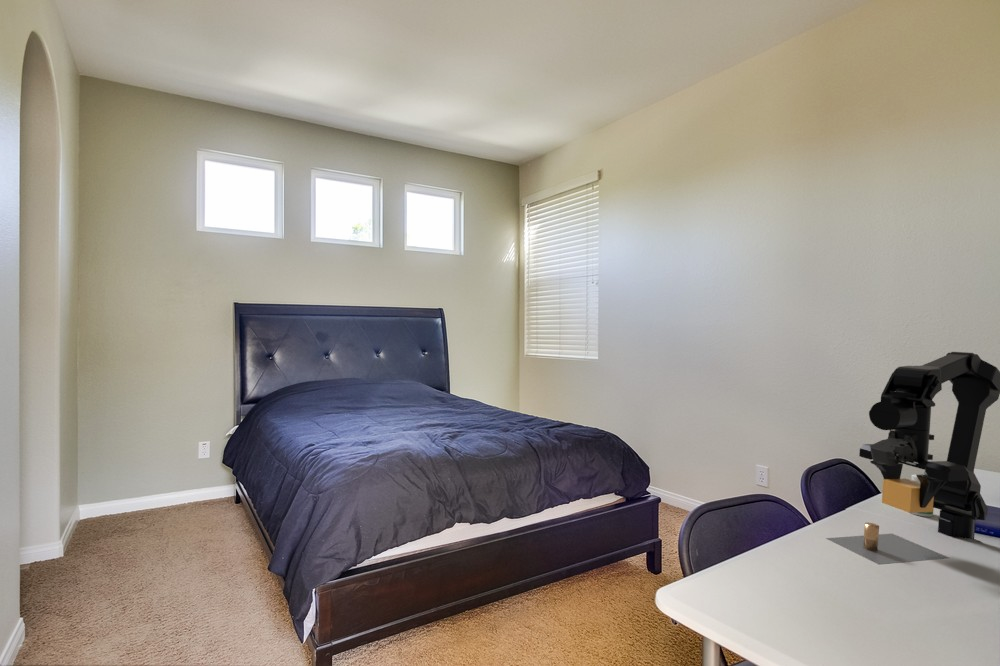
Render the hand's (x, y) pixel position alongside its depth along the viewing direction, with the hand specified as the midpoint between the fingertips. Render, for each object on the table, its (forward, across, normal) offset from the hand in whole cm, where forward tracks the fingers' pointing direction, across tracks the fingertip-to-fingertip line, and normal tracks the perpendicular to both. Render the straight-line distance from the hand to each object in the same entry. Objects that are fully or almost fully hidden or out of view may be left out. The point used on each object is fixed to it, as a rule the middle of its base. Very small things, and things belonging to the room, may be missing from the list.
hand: (907, 502), depth 110 cm
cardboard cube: (+1, 0, 0) cm, 1 cm away
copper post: (+9, 0, -9) cm, 13 cm away
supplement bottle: (+11, -19, +29) cm, 36 cm away
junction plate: (+11, 0, -5) cm, 12 cm away
